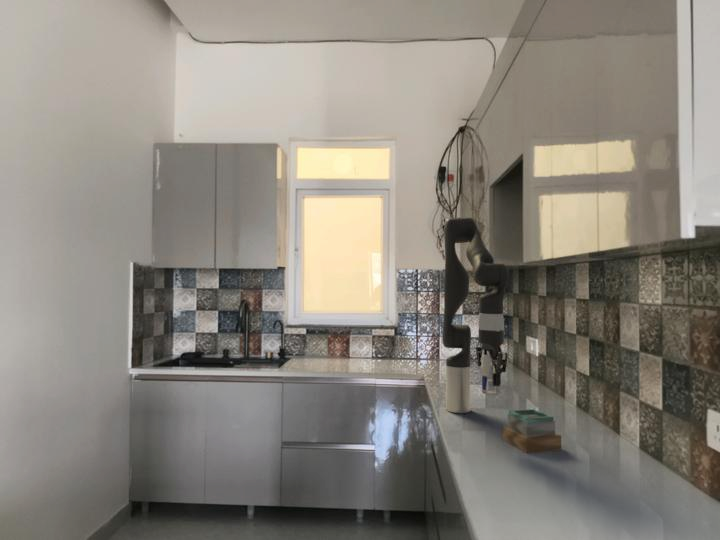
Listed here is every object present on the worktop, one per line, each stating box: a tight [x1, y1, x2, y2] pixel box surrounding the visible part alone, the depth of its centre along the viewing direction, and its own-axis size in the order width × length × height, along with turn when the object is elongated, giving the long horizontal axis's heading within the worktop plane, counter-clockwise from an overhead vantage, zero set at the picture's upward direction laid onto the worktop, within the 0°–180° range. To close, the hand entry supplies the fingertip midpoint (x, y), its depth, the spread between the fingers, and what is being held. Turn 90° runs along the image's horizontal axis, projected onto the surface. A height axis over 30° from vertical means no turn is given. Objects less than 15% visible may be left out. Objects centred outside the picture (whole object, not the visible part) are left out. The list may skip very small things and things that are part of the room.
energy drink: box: [481, 354, 501, 396], centre depth 137 cm, size 5×5×12 cm
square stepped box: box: [501, 408, 562, 454], centre depth 136 cm, size 12×12×9 cm
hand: (491, 383), depth 137 cm, fingers closed on energy drink, 5 cm apart
